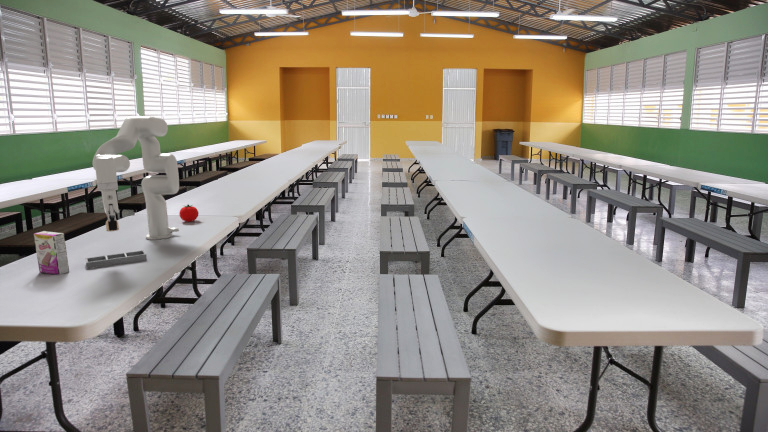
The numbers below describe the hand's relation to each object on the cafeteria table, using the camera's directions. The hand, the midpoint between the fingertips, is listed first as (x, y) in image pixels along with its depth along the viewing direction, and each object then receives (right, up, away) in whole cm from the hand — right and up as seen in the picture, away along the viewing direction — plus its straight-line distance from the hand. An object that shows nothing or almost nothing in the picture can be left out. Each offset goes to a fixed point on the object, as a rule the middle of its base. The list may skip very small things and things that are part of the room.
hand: (112, 228), depth 224 cm
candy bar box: (-18, -18, -10) cm, 28 cm away
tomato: (+2, +2, +82) cm, 82 cm away
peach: (0, -1, 0) cm, 1 cm away
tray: (0, -15, +3) cm, 15 cm away
